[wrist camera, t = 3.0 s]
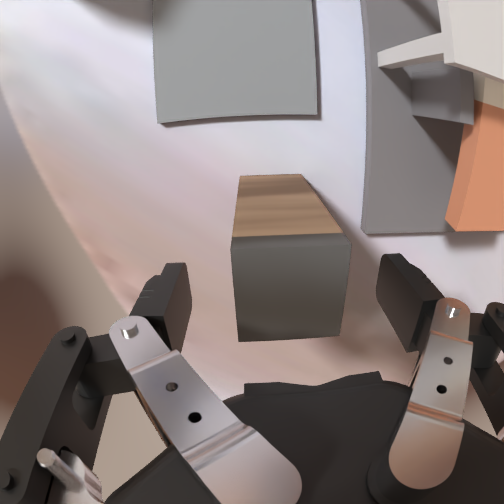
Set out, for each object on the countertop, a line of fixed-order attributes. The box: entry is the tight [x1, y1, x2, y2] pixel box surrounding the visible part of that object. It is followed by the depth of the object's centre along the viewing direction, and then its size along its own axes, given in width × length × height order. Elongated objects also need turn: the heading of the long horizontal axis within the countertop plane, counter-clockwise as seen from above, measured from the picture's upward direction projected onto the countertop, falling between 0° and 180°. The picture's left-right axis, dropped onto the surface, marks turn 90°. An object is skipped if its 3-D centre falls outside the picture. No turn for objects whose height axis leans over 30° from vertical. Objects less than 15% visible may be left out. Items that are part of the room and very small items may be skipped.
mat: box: [153, 0, 317, 123], centre depth 16 cm, size 10×10×1 cm
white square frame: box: [360, 0, 504, 234], centre depth 13 cm, size 20×15×9 cm
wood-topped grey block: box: [230, 174, 352, 342], centre depth 16 cm, size 4×4×11 cm
